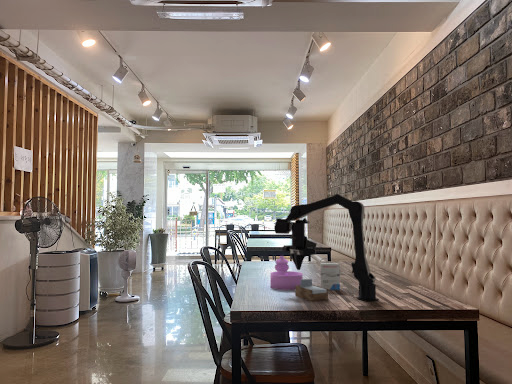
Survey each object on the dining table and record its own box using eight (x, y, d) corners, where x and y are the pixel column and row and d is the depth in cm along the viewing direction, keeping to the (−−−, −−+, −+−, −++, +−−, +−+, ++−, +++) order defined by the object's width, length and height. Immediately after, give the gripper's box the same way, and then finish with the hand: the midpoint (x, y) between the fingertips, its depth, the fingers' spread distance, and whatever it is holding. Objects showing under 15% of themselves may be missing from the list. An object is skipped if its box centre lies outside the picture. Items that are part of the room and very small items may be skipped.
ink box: (338, 288, 177) (338, 262, 178) (340, 290, 172) (339, 264, 173) (320, 287, 178) (320, 262, 179) (321, 289, 173) (320, 263, 174)
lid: (326, 292, 152) (326, 282, 152) (312, 293, 149) (312, 283, 149) (311, 288, 161) (311, 278, 161) (298, 289, 158) (298, 279, 158)
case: (328, 299, 152) (328, 288, 152) (311, 301, 148) (311, 290, 148) (311, 294, 162) (311, 284, 163) (295, 296, 159) (295, 285, 159)
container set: (305, 289, 173) (305, 260, 174) (272, 290, 172) (272, 261, 173) (295, 280, 198) (294, 255, 199) (266, 281, 197) (266, 255, 198)
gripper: (326, 234, 161) (326, 271, 160) (302, 232, 178) (302, 266, 177) (303, 235, 156) (304, 273, 155) (281, 233, 173) (281, 267, 172)
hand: (298, 269), depth 165 cm, fingers closed
